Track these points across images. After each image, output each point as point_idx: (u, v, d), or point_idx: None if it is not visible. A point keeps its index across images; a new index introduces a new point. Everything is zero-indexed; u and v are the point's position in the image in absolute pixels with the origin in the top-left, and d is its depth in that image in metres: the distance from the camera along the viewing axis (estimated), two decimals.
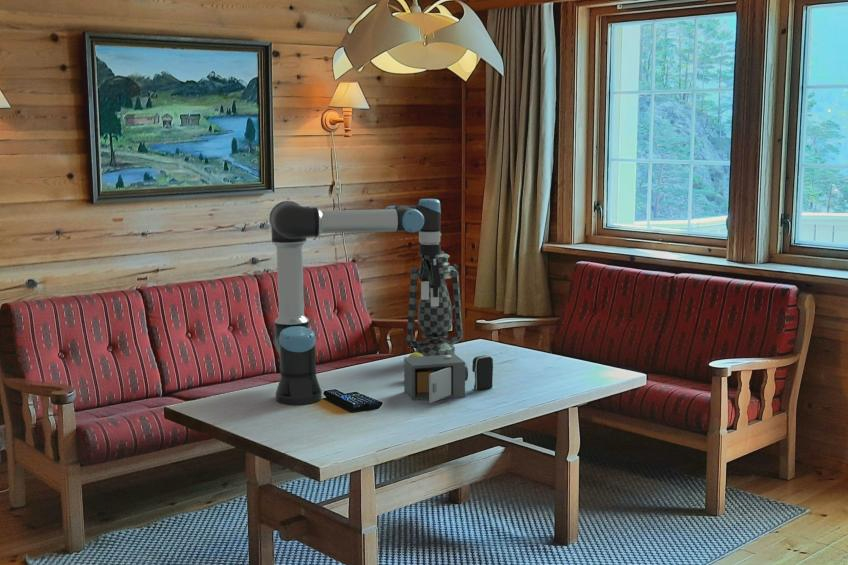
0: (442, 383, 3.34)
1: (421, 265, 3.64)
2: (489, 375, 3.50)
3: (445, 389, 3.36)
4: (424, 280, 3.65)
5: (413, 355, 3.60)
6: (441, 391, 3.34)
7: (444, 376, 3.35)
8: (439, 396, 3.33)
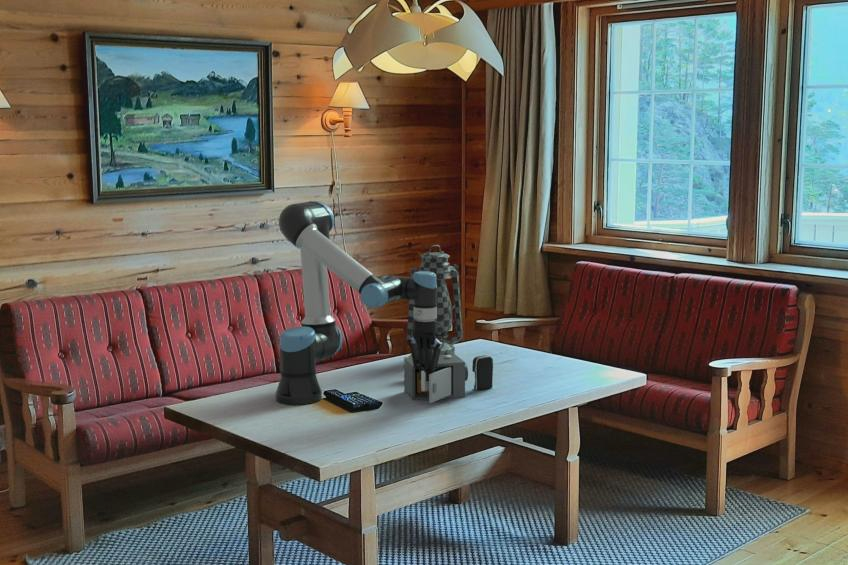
0: (442, 383, 3.34)
1: None
2: (489, 375, 3.50)
3: (445, 389, 3.36)
4: None
5: None
6: (441, 391, 3.34)
7: (444, 376, 3.35)
8: (439, 396, 3.33)
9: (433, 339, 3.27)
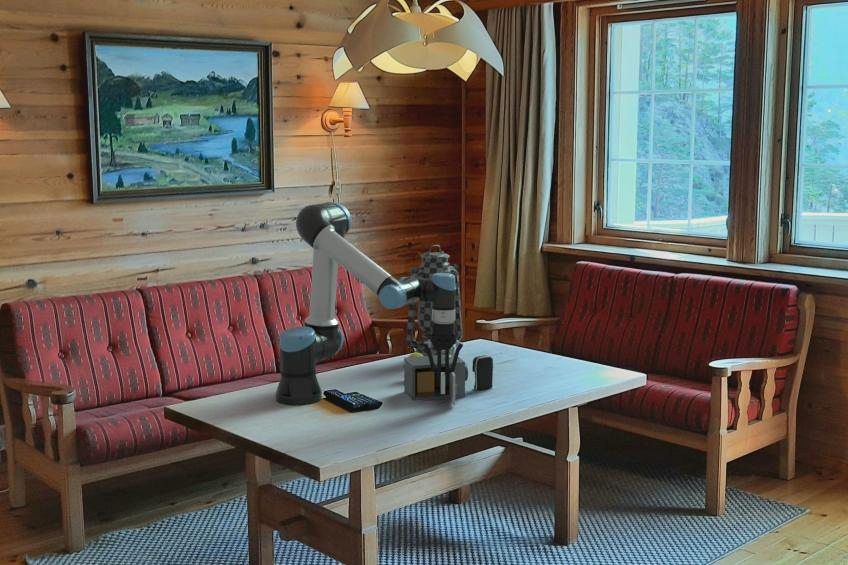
0: None
1: None
2: (489, 375, 3.50)
3: None
4: (445, 372, 3.28)
5: (413, 355, 3.60)
6: None
7: None
8: None
9: (455, 340, 3.25)
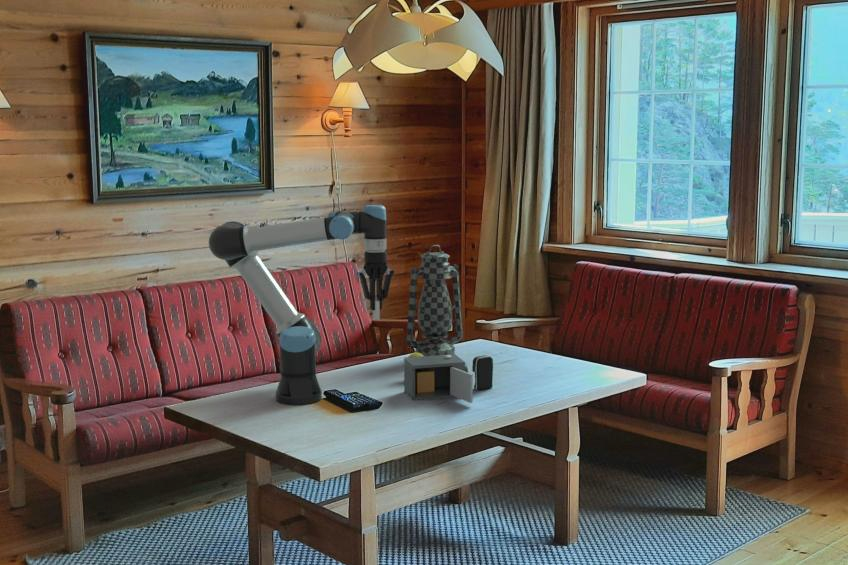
0: None
1: None
2: (489, 375, 3.50)
3: None
4: (377, 299, 3.48)
5: (413, 355, 3.60)
6: None
7: None
8: None
9: (387, 267, 3.46)
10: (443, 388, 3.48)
